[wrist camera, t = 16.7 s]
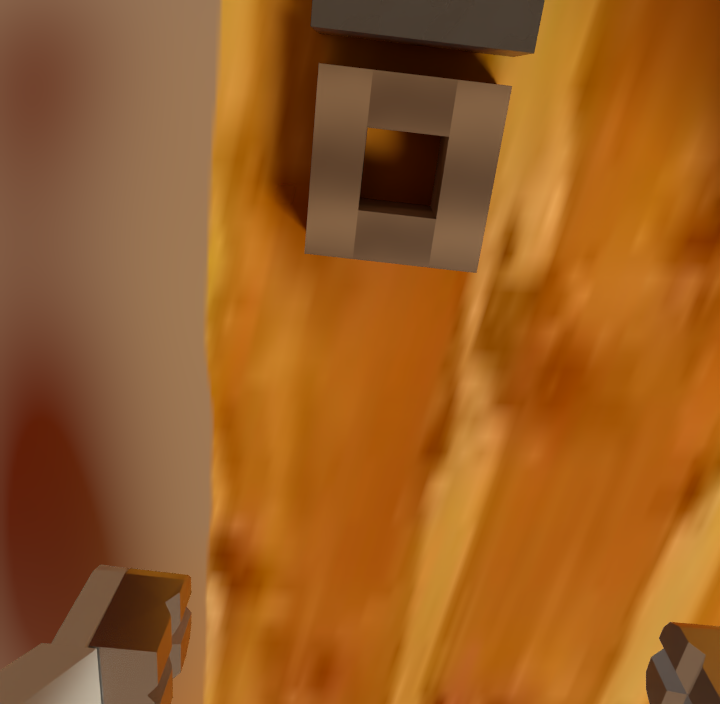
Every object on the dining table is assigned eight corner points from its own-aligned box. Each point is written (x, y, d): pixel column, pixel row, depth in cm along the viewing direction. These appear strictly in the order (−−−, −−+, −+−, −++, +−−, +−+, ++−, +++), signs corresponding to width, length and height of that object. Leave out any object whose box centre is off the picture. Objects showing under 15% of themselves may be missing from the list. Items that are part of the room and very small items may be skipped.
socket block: (324, 64, 36) (318, 63, 32) (497, 85, 36) (511, 86, 32) (311, 237, 40) (304, 253, 36) (467, 255, 40) (476, 272, 36)
